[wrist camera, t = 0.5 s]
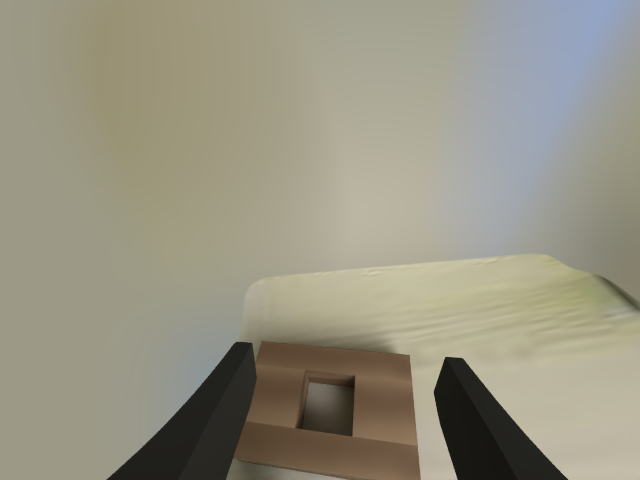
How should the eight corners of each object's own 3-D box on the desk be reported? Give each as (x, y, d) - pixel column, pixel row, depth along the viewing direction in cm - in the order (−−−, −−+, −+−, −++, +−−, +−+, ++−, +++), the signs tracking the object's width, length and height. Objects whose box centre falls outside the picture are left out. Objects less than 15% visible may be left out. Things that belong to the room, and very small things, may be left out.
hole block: (414, 490, 21) (421, 486, 19) (239, 460, 23) (228, 454, 21) (405, 368, 27) (409, 355, 25) (268, 354, 30) (261, 341, 28)
